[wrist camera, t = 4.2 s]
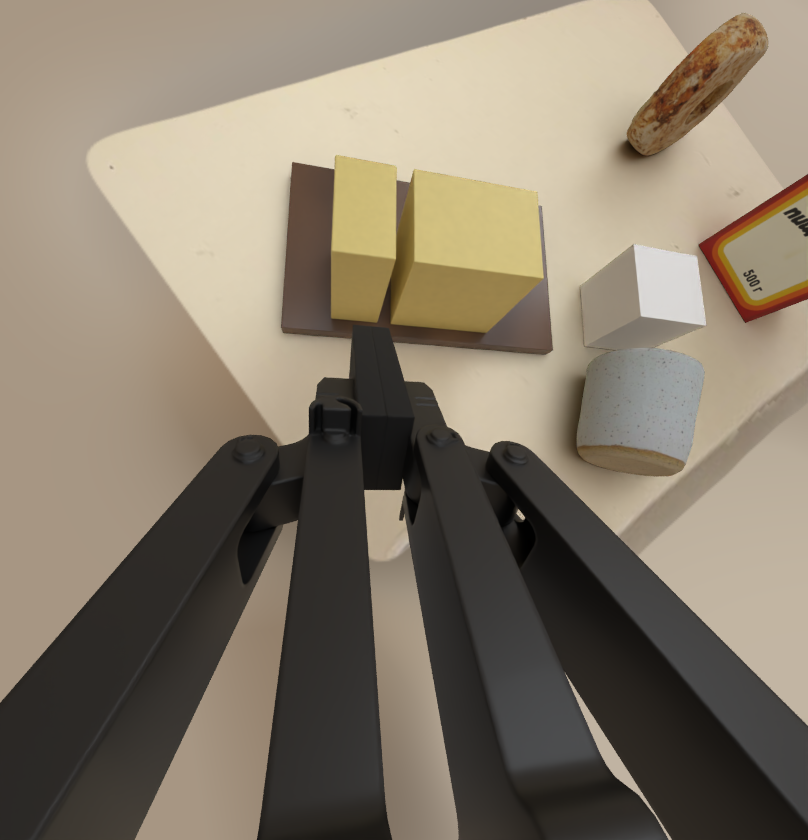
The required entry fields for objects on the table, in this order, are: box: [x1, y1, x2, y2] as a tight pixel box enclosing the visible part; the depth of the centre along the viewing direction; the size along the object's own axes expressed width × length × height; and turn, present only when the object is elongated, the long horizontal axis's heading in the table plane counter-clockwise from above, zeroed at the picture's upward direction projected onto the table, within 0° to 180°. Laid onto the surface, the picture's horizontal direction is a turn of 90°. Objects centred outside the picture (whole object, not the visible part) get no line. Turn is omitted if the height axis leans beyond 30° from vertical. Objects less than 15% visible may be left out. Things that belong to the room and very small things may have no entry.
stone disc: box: [627, 13, 768, 155], centre depth 33 cm, size 10×4×10 cm, turn 122°
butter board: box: [281, 162, 553, 354], centre depth 29 cm, size 22×14×1 cm, turn 90°
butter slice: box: [331, 155, 397, 323], centre depth 23 cm, size 4×6×8 cm, turn 0°
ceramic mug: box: [577, 348, 705, 476], centre depth 27 cm, size 11×8×8 cm
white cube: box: [580, 244, 706, 350], centre depth 30 cm, size 6×6×6 cm
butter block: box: [390, 169, 544, 333], centre depth 24 cm, size 8×6×8 cm
